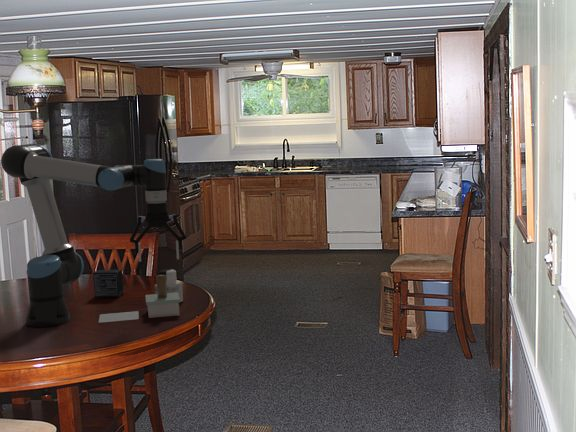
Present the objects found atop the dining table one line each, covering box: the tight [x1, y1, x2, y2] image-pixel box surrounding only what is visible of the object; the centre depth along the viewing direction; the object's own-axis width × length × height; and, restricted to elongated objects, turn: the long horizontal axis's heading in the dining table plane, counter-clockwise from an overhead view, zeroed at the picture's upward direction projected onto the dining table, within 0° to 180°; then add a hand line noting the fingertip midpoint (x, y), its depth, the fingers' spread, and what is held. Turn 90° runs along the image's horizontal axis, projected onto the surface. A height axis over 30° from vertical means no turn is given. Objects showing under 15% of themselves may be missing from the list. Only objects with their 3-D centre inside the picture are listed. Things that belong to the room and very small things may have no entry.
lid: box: [144, 275, 181, 306], centre depth 283 cm, size 12×12×9 cm
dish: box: [147, 303, 180, 319], centre depth 284 cm, size 11×11×5 cm
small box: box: [92, 269, 125, 299], centre depth 317 cm, size 11×6×10 cm, turn 84°
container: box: [154, 268, 184, 303], centre depth 300 cm, size 8×8×13 cm
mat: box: [98, 310, 140, 324], centre depth 282 cm, size 14×12×1 cm
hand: (159, 260), depth 282 cm, fingers open, 13 cm apart
